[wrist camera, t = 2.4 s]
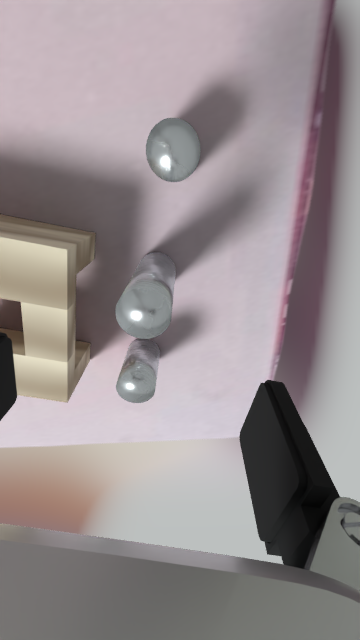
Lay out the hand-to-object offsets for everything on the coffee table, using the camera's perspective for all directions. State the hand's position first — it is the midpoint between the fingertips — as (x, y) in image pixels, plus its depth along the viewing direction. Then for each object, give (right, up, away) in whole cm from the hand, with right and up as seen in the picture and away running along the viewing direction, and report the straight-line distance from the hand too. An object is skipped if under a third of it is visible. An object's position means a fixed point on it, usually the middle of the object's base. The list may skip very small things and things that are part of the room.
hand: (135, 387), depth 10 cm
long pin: (0, +7, +11) cm, 13 cm away
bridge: (-11, +5, +12) cm, 17 cm away
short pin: (+1, +13, +8) cm, 16 cm away
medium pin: (-2, 0, +15) cm, 15 cm away
